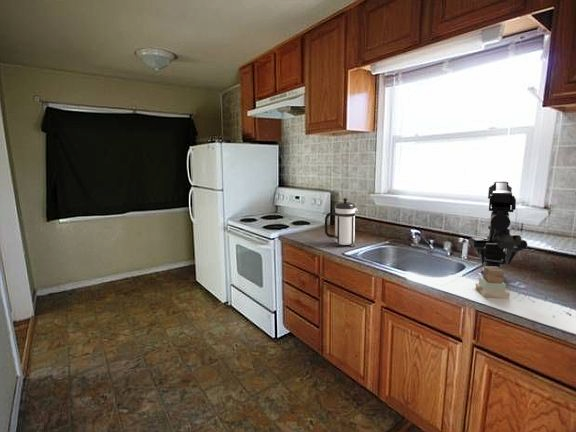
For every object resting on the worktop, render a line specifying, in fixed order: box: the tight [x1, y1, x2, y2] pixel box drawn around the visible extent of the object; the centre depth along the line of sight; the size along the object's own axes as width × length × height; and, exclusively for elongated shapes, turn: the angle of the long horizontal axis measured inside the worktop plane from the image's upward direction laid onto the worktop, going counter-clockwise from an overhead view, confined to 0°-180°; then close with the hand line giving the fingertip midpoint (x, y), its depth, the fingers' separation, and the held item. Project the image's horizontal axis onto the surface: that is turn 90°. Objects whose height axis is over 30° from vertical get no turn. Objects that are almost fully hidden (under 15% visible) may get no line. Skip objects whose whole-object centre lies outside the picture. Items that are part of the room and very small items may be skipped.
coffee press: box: [324, 197, 359, 248], centre depth 198 cm, size 17×16×30 cm
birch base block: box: [475, 282, 510, 300], centre depth 127 cm, size 8×8×3 cm
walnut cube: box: [482, 265, 505, 283], centre depth 125 cm, size 5×5×5 cm
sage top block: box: [478, 276, 507, 292], centre depth 126 cm, size 7×7×3 cm
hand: (495, 264), depth 124 cm, fingers open, 9 cm apart
